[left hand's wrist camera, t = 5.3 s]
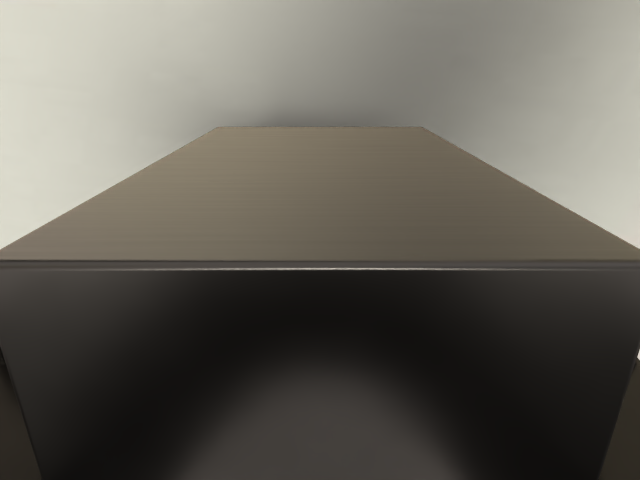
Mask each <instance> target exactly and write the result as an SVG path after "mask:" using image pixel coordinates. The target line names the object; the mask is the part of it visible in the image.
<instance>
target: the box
mask: <svg viewBox="0 0 640 480" xmlns="http://www.w3.org/2000/svg"><path fill="white" fill-rule="evenodd" d="M0 347H1V350H2V353H3V357H4V360H5V363H6V366H7V369H8V372H9V376H10V379H11V382H12V385H13V388H14V392H15V395H16V398H17V401H18V404H19V407H20V411H21V414H22V417H23V420H24V423H25V427H26V430H27V433H28V436H29V439H30V443H31V446H32V449H33V452H34V455H35V458H36V462H37V465H38V468H39V471H40V474H41V478H42V480H598V479H599V476H600V473H601V470H602V467H603V464H604V461H605V457H606V454H607V451H608V448H609V445H610V441H611V438H612V435H613V432H614V429H615V426H616V422H617V419H618V416H619V413H620V410H621V407H622V403H623V400H624V397H625V394H626V391H627V388H628V384H629V381H630V378H631V375H632V372H633V368H634V365H635V362H636V359H637V356H638V353H639V349H640V249H638V248H637V247H635V246H633V245H631V244H630V243H628V242H626V241H624V240H622V239H621V238H619V237H617V236H615V235H614V234H612V233H610V232H608V231H606V230H605V229H603V228H601V227H599V226H597V225H596V224H594V223H592V222H590V221H589V220H587V219H585V218H583V217H581V216H580V215H578V214H576V213H574V212H573V211H571V210H569V209H567V208H565V207H564V206H562V205H560V204H558V203H557V202H555V201H553V200H551V199H549V198H548V197H546V196H544V195H542V194H540V193H539V192H537V191H535V190H533V189H532V188H530V187H528V186H526V185H524V184H523V183H521V182H519V181H517V180H516V179H514V178H512V177H510V176H508V175H507V174H505V173H503V172H501V171H500V170H498V169H496V168H494V167H492V166H491V165H489V164H487V163H485V162H483V161H482V160H480V159H478V158H476V157H475V156H473V155H471V154H469V153H467V152H466V151H464V150H462V149H460V148H459V147H457V146H455V145H453V144H451V143H450V142H448V141H446V140H444V139H443V138H441V137H439V136H437V135H435V134H434V133H432V132H430V131H428V130H426V129H425V128H423V127H217V128H216V129H214V130H212V131H210V132H208V133H207V134H205V135H203V136H201V137H200V138H198V139H196V140H194V141H192V142H191V143H189V144H187V145H185V146H184V147H182V148H180V149H178V150H176V151H175V152H173V153H171V154H169V155H168V156H166V157H164V158H162V159H160V160H159V161H157V162H155V163H153V164H152V165H150V166H148V167H146V168H144V169H143V170H141V171H139V172H137V173H136V174H134V175H132V176H130V177H128V178H127V179H125V180H123V181H121V182H120V183H118V184H116V185H114V186H112V187H111V188H109V189H107V190H105V191H104V192H102V193H100V194H98V195H96V196H95V197H93V198H91V199H89V200H88V201H86V202H84V203H82V204H80V205H79V206H77V207H75V208H73V209H72V210H70V211H68V212H66V213H64V214H63V215H61V216H59V217H57V218H56V219H54V220H52V221H50V222H48V223H47V224H45V225H43V226H41V227H40V228H38V229H36V230H34V231H32V232H31V233H29V234H27V235H25V236H24V237H22V238H20V239H18V240H16V241H15V242H13V243H11V244H9V245H8V246H6V247H4V248H2V249H0Z"/></svg>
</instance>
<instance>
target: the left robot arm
mask: <svg viewBox="0 0 640 480" xmlns="http://www.w3.org/2000/svg"><path fill="white" fill-rule="evenodd" d="M0 480H42V478H41V474H40V471H39V468H38V465H37V462H36V458H35V455H34V452H33V449H32V446H31V443H30V439H29V436H28V433H27V430H26V427H25V423H24V420H23V417H22V414H21V411H20V407H19V404H18V401H17V398H16V395H15V392H14V388H13V385H12V382H11V379H10V376H9V372H8V369H7V366H6V363H5V360H4V357H3V353H2V350H1V347H0ZM598 480H640V360H639V359H638V358H637V359H636V362H635V365H634V368H633V372H632V375H631V378H630V381H629V384H628V388H627V391H626V394H625V397H624V400H623V403H622V407H621V410H620V413H619V416H618V419H617V422H616V426H615V429H614V432H613V435H612V438H611V441H610V445H609V448H608V451H607V454H606V457H605V461H604V464H603V467H602V470H601V473H600V476H599V479H598Z"/></svg>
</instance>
